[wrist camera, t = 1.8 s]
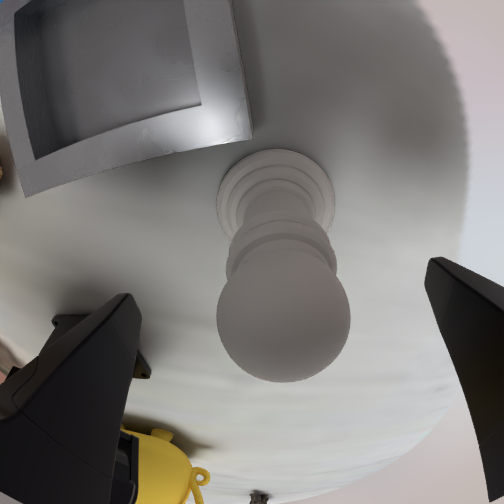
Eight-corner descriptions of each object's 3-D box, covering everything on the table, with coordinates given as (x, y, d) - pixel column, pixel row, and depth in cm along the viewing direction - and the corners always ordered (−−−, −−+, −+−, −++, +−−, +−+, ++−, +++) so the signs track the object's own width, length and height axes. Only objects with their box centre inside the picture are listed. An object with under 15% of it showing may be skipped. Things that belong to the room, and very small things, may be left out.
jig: (253, 130, 12) (252, 139, 10) (53, 180, 13) (25, 198, 11) (216, -73, 6) (208, -98, 4) (24, 10, 7) (-5, 7, 5)
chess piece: (261, 270, 15) (260, 434, 8) (194, 191, 13) (115, 336, 6) (351, 217, 14) (432, 366, 6) (291, 123, 12) (356, 191, 4)
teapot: (218, 463, 32) (211, 542, 21) (92, 439, 33) (73, 506, 22) (205, 425, 25) (191, 540, 14) (48, 392, 26) (15, 475, 15)
